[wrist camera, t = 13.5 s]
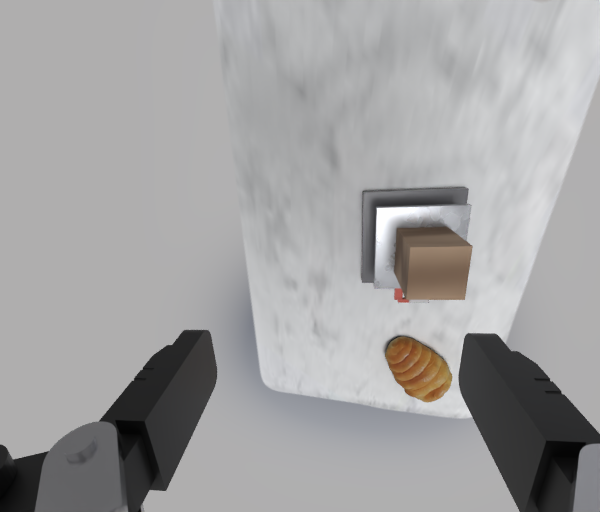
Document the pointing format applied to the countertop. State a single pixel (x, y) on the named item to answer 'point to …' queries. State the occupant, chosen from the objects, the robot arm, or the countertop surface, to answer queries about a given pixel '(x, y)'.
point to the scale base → (398, 199)
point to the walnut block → (432, 263)
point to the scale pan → (410, 218)
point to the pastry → (418, 369)
